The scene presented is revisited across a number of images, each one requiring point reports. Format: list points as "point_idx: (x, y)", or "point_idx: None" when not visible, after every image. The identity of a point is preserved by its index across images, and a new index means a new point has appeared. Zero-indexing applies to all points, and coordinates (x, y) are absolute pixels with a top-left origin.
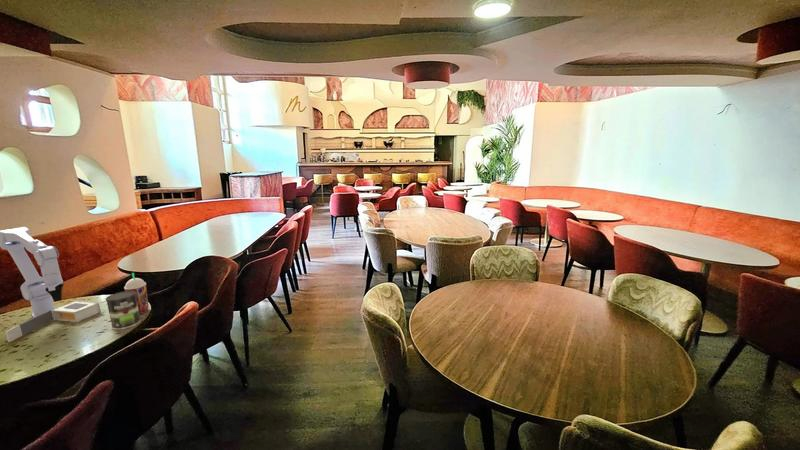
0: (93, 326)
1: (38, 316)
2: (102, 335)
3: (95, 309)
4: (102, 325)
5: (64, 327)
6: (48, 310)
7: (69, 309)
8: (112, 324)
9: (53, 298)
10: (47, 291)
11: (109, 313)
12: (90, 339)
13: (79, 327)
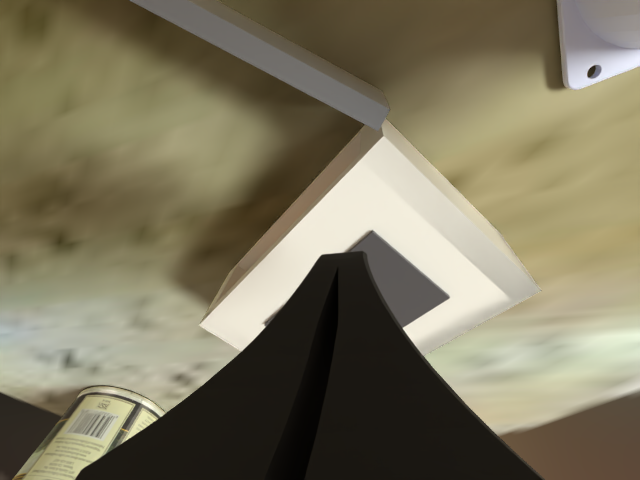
0: (138, 335)
1: (218, 46)
2: (36, 365)
3: None
4: (139, 360)
5: (173, 220)
6: (376, 104)
7: (291, 281)
8: (69, 410)
9: (298, 289)
10: (111, 457)
11: (27, 470)
12: (4, 338)
13: (145, 288)
